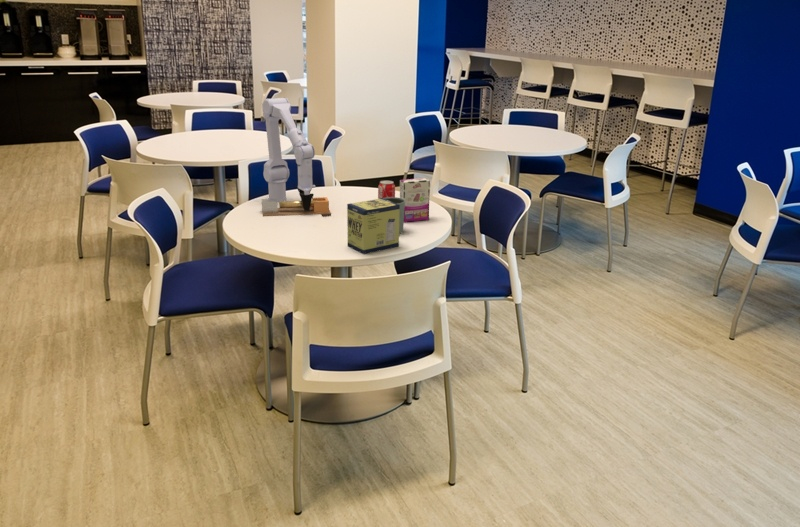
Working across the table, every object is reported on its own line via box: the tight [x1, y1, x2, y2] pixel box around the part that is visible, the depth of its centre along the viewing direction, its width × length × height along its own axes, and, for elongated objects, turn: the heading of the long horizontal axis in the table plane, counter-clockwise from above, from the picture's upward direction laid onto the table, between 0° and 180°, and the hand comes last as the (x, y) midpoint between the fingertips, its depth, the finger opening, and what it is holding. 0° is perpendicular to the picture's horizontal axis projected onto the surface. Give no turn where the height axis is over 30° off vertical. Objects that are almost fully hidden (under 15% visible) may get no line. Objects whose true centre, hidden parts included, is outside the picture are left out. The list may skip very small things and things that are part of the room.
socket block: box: [312, 196, 330, 213], centre depth 278 cm, size 7×6×4 cm
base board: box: [262, 207, 332, 217], centre depth 277 cm, size 12×27×1 cm, turn 103°
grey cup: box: [383, 196, 405, 234], centre depth 255 cm, size 10×10×12 cm
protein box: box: [346, 198, 400, 255], centre depth 237 cm, size 10×16×16 cm
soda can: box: [377, 180, 396, 199], centre depth 283 cm, size 7×7×12 cm
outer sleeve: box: [261, 198, 279, 215], centre depth 274 cm, size 5×6×5 cm
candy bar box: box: [399, 177, 431, 223], centre depth 269 cm, size 11×5×16 cm, turn 112°
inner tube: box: [278, 200, 319, 209], centre depth 276 cm, size 4×16×4 cm, turn 102°
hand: (305, 207), depth 277 cm, fingers open, 7 cm apart
